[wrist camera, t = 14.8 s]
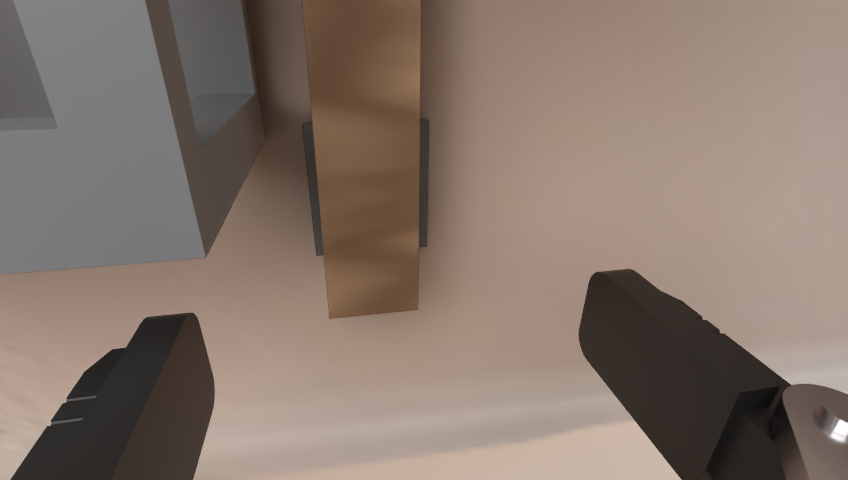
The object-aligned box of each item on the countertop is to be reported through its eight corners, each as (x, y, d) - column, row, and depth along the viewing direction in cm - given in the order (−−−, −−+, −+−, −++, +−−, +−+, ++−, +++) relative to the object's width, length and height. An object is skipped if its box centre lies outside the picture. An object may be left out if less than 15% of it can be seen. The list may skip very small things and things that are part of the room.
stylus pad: (426, 119, 16) (429, 121, 16) (424, 242, 18) (426, 246, 18) (302, 123, 15) (301, 125, 15) (316, 250, 17) (316, 255, 17)
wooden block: (404, 270, 18) (401, -176, 12) (418, 309, 15) (422, -240, 10) (328, 276, 17) (289, -189, 12) (329, 318, 14) (279, -261, 9)
